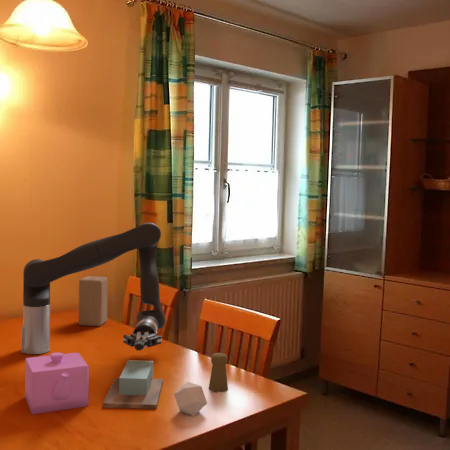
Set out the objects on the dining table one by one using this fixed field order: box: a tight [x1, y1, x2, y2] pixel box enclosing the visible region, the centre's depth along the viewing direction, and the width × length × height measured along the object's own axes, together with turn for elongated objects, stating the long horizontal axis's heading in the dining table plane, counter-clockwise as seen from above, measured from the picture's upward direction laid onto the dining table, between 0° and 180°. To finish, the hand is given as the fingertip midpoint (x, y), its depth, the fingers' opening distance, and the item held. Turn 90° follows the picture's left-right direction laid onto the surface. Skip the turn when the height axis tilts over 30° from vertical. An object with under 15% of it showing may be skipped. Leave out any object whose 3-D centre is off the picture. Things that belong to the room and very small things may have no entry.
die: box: [173, 381, 208, 417], centre depth 157 cm, size 8×9×10 cm
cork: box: [208, 352, 229, 393], centre depth 175 cm, size 6×6×11 cm
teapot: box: [24, 352, 90, 415], centre depth 160 cm, size 15×25×14 cm, turn 27°
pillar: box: [118, 359, 154, 396], centre depth 172 cm, size 8×5×16 cm
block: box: [78, 275, 109, 327], centre depth 245 cm, size 10×10×20 cm
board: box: [102, 377, 164, 410], centre depth 168 cm, size 15×20×1 cm
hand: (138, 347), depth 175 cm, fingers closed
